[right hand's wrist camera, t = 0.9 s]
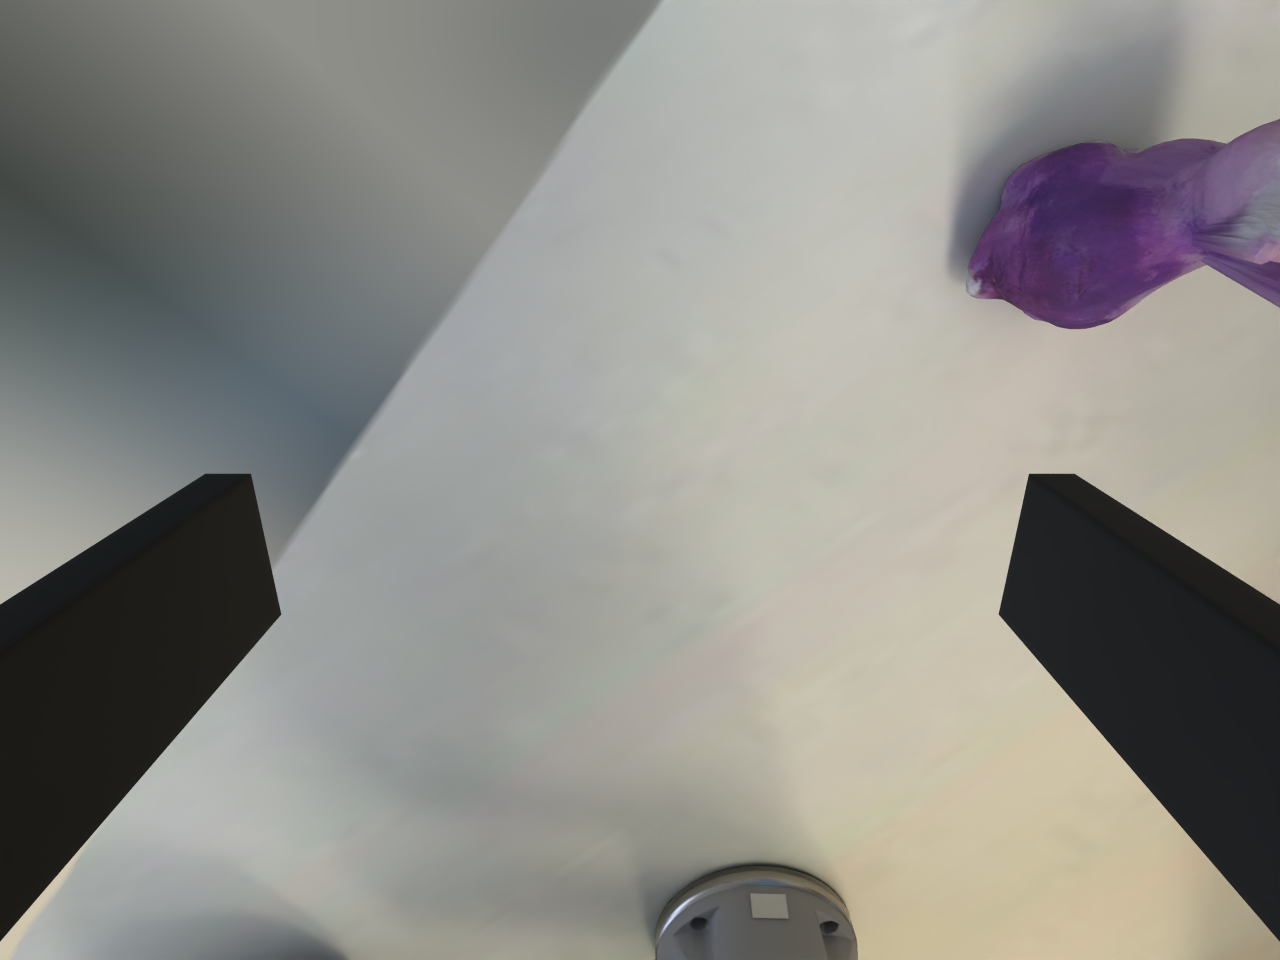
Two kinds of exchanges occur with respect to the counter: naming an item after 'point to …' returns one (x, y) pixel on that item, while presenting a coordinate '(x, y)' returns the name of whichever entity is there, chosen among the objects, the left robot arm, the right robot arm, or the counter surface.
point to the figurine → (1131, 225)
